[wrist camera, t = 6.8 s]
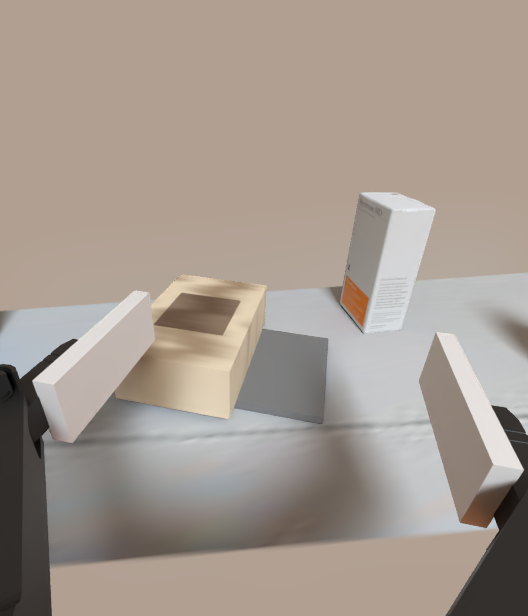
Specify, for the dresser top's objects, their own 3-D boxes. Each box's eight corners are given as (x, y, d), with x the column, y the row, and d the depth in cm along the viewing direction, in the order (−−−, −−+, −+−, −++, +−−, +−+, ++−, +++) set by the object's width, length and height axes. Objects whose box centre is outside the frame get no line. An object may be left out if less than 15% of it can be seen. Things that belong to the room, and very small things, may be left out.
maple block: (105, 349, 22) (180, 273, 32) (115, 398, 24) (183, 312, 34) (229, 370, 21) (266, 284, 31) (229, 419, 23) (264, 323, 33)
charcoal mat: (104, 384, 26) (102, 377, 26) (160, 318, 34) (160, 313, 34) (322, 423, 24) (323, 417, 24) (327, 344, 32) (328, 338, 32)
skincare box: (337, 304, 39) (357, 191, 33) (373, 302, 40) (398, 191, 34) (362, 335, 34) (392, 208, 28) (402, 332, 35) (439, 208, 29)
